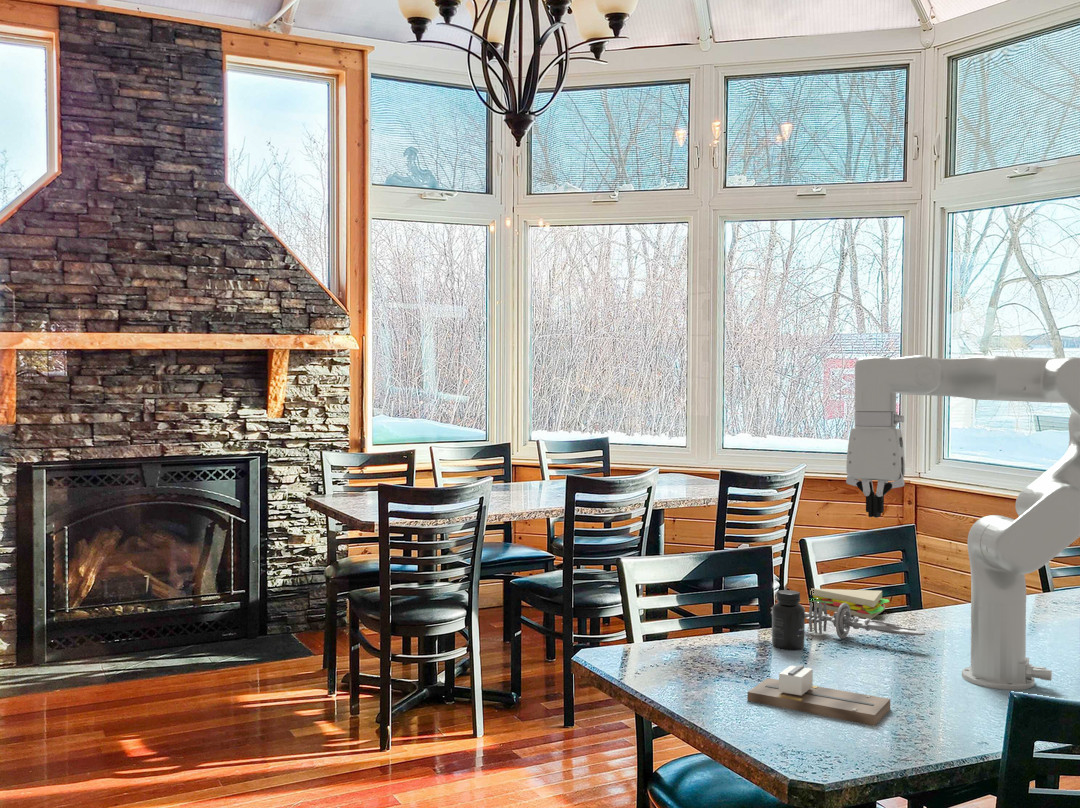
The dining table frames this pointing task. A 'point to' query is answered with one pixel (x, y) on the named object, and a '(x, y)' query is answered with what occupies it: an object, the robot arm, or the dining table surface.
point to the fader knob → (796, 680)
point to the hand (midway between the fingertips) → (874, 516)
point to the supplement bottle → (788, 621)
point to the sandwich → (851, 601)
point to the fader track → (823, 702)
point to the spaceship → (852, 622)
